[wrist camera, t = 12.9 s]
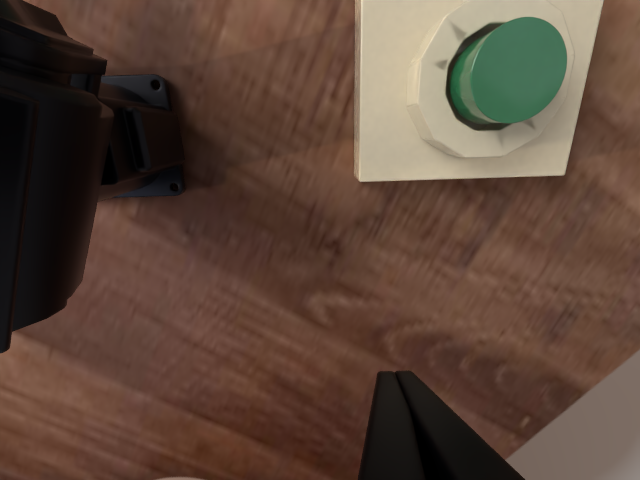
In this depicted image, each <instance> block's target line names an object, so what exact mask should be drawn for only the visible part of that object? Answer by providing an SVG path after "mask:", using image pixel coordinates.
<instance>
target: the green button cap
mask: <svg viewBox="0 0 640 480" xmlns="http://www.w3.org/2000/svg"><path fill="white" fill-rule="evenodd" d="M566 68H567V50H566V46H565V43H564V40H563V38H562V36H561V34H560V33H559V31H558V30H557V29H556V28H555V27H554V26H553V25H552V24H550V23H549V22H547V21H545V20H543V19H540V18H536V17H520V18H516V19H513V20H510V21H508V22H506V23H504V24H502V25H501V26H499V27H497V28H495V29H494V30H492V31H490V32H488V33H487V34H485V35H483V36H481V37H480V38H478V39H476V40H475V41H473V42H472V43H471V44H469V45H468V46H467V47H466V48H465V49H464V51H463V52H462V53H461V54H460V56H459V57H458V59H457V61H456V63H455V65H454V67H453V70H452V73H451V78H450V95H451V99H452V102H453V105H454V107H455V109H456V110H457V111H458V113H459V114H460V115H461V116H462V117H464V118H465V119H466V120H468V121H470V122H473V123H476V124H510V123H518V122H522V121H525V120H527V119H530V118H531V117H533V116H535V115H537V114H538V113H540V112H541V111H542V110H543V109H544V108H545V107H546V106H547V105H548V104H549V103H550V102H551V101H552V100H553V98H554V97H555V96H556V94H557V93H558V91H559V89H560V87H561V85H562V82H563V80H564V77H565V73H566Z"/></svg>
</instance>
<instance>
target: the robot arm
mask: <svg viewBox="0 0 640 480" xmlns="http://www.w3.org/2000/svg"><path fill="white" fill-rule="evenodd" d="M106 65H107V60H106V59H104V58H101V57H99V56H97V55H94V54H93V48H90V47H88V46H86V45H84V44H82V43H79V42H77V41H75V40H73V39H72V38H70V37H68V36H67V34H66V32H65V30H64V29H63V27H62V25H61V24H60V22H59V20H58V18H57V17H56V15H54V14H52V13H50V12H47V11H45V10H43V9H41V8H38V7H36V6H34V5H32V4H29V3H27V2H25V1H23V0H0V353H3V352H5V351H7V350H8V349H9V348H10V343H11V335H12V332H13V331H15V330H18V329H20V328H23V327H26V326H28V325H31V324H34V323H36V322H39V321H41V320H44V319H47V318H49V317H50V316H52V315H54V314H55V313H57V312H59V311H60V310H62V309H63V308H65V306H66V304H67V299H68V298H69V297H70V296H72V294H73V293H74V292H75V290H76V289H77V287H78V286H79V285H80V283H81V282H82V279H83V274H84V268H85V263H86V258H87V253H88V248H89V243H90V238H91V232H92V227H93V222H94V217H95V212H96V207H97V202H99V201H102V200H106V199H109V198H116V197H147V196H176V195H180V194H182V193H183V192H184V191H185V181H184V175H183V169H182V163H183V161H184V160H185V158H184V152H183V146H182V141H181V135H180V129H179V123H178V117H177V115H176V114H175V113H174V112H173V111H172V105H171V99H170V93H169V87H168V84H167V81H166V80H165V79H164V78H163V77H161V76H159V75H154V74H151V75H120V76H102V75H105V71H106ZM156 81H159V83H160V88H159V89H158V90H156V89H155V86H154V83H155V82H156ZM174 183H176V184H177V185H178V187H179V189H178V190H175V189H174V188H173V184H174ZM358 480H525V479H524V478H523V477H522V476H521V475H520V474H519V473H518V472H517V471H515V470H514V469H513V468H512V467H511V466H510V465H509V464H508V463H507V462H506V461H505V460H504V459H503V458H502V457H501V456H500V455H499V454H498V453H497V452H496V451H495V450H494V449H493V448H492V447H490V446H489V445H488V444H487V443H486V442H485V441H484V440H483V439H482V438H481V437H480V436H479V435H478V434H477V433H476V432H475V431H474V430H473V429H472V428H471V427H470V426H468V425H467V424H466V423H465V422H464V421H463V420H462V419H461V418H460V417H459V416H458V415H457V414H456V413H455V412H454V411H453V410H452V409H451V408H450V407H449V406H448V405H446V404H445V403H444V402H443V401H442V400H441V399H440V398H439V397H438V396H437V395H436V394H435V393H434V392H433V391H432V390H431V389H430V388H429V387H428V386H427V385H426V384H424V383H423V382H422V381H421V380H420V379H419V378H418V377H417V376H416V375H415V374H414V373H413V372H411V371H396V372H395V373H394V372H393V371H380V372H378V374H377V378H376V384H375V389H374V395H373V400H372V405H371V411H370V416H369V421H368V427H367V432H366V438H365V443H364V448H363V454H362V459H361V465H360V470H359V475H358Z"/></svg>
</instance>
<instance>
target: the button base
mask: <svg viewBox="0 0 640 480" xmlns="http://www.w3.org/2000/svg"><path fill="white" fill-rule="evenodd" d="M603 2H604V0H355V121H354V175H355V177H356V178H357V179H358V180H359V182H375V181H407V180H438V179H470V178H502V177H533V176H563V175H565V172H566V168H567V163H568V159H569V154H570V150H571V145H572V141H573V136H574V132H575V127H576V123H577V118H578V114H579V109H580V105H581V100H582V96H583V92H584V87H585V83H586V78H587V74H588V69H589V65H590V60H591V56H592V51H593V47H594V42H595V38H596V33H597V29H598V25H599V20H600V16H601V11H602V7H603ZM520 17H536V18H540V19H543V20H545V21H547V22H549V23H550V24H552V25H553V26H554V27H555V28H556V29H557V30H558V31H559V33H560V34H561V36H562V38H563V40H564V43H565V46H566V50H567V68H566V73H565V77H564V80H563V82H562V85H561V87H560V89H559V91H558V93H557V94H556V96H555V97H554V98H553V100H552V101H551V102H550V103H549V104H548V105H547V106H546V107H545V108H544V109H543V110H542V111H541V112H540V113H538V114H537V115H535V116H533V117H531V118H530V119H527V120H525V121H522V122H518V123H510V124H476V123H473V122H470V121H468V120H466V119H465V118H464V117H462V116H461V115H460V114H459V113H458V111H457V110H456V109H455V107H454V105H453V102H452V99H451V95H450V78H451V73H452V70H453V67H454V65H455V63H456V61H457V59H458V57H459V56H460V54H461V53H462V52H463V51H464V49H465V48H466V47H467V46H468V45H469V44H471V43H472V42H473V41H475V40H476V39H478V38H480V37H481V36H483V35H485V34H487V33H488V32H490V31H492V30H494V29H495V28H497V27H499V26H501V25H502V24H504V23H506V22H508V21H510V20H513V19H516V18H520Z"/></svg>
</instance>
